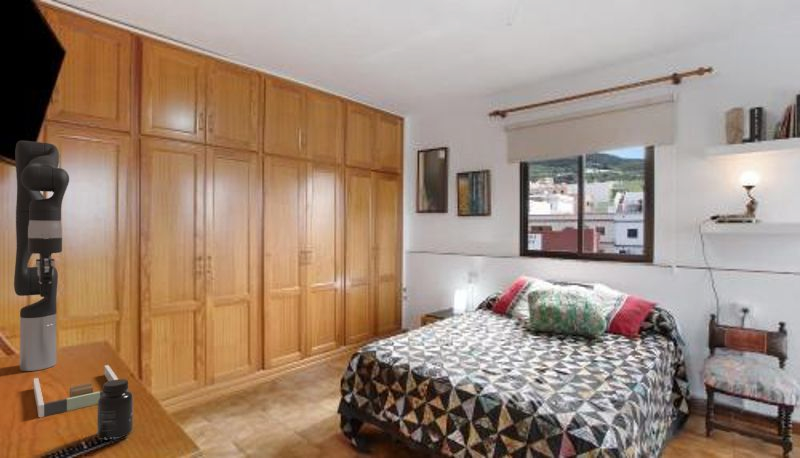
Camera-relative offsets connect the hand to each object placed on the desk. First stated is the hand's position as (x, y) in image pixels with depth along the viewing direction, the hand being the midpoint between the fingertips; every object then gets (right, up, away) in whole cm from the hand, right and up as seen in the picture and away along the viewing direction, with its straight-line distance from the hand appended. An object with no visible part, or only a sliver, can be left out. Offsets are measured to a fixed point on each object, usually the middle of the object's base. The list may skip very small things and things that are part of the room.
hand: (45, 296), depth 122 cm
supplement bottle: (+37, -28, -24) cm, 52 cm away
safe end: (+19, -27, -10) cm, 35 cm away
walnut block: (+17, -28, -8) cm, 33 cm away
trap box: (+11, -27, -2) cm, 29 cm away
